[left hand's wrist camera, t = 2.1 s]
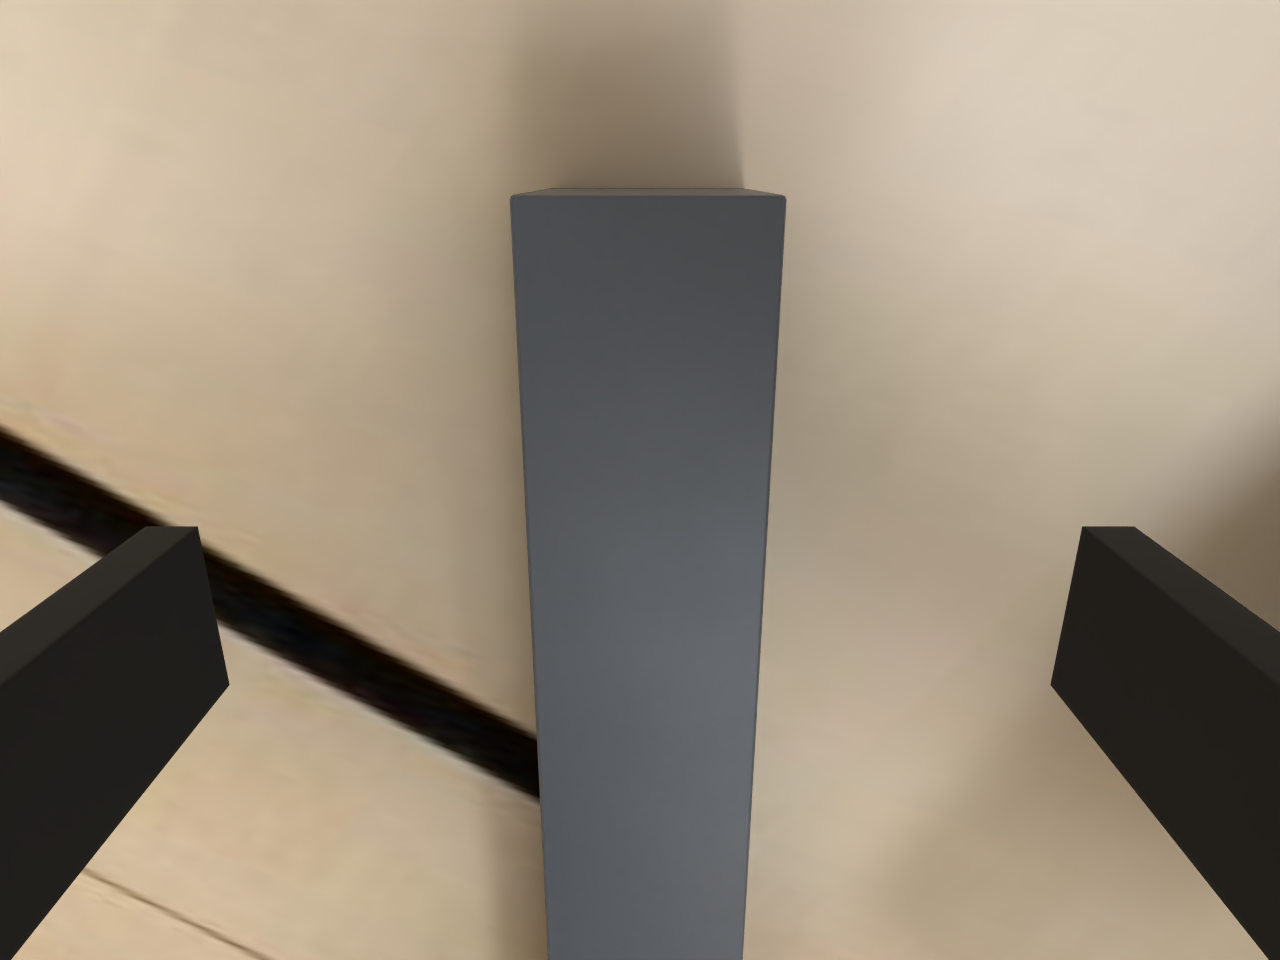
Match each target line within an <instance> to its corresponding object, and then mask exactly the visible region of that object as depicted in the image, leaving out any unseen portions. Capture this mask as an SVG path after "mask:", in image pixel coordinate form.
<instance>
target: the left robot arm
mask: <svg viewBox="0 0 1280 960" xmlns="http://www.w3.org/2000/svg"><path fill="white" fill-rule="evenodd" d="M228 686H229V680H228V675H227V670H226V665H225V660H224V655H223V650H222V646H221V641H220V636H219V631H218V626H217V621H216V616H215V611H214V606H213V601H212V596H211V591H210V586H209V581H208V576H207V571H206V566H205V561H204V556H203V551H202V546H201V541H200V536H199V531H198V527H145V528H143V529H142V530H141V531H139V532H138V533H136V534H135V535H134V536H132V537H131V538H130V539H128V540H127V541H125V542H124V543H123V544H121V545H120V546H119V547H117V548H116V549H114V550H113V551H112V552H110V553H109V554H107V555H106V556H105V557H103V558H102V559H101V560H99V561H98V562H96V563H95V564H94V565H92V566H91V567H90V568H88V569H87V570H85V571H84V572H83V573H81V574H80V575H79V576H77V577H76V578H74V579H73V580H72V581H70V582H69V583H68V584H66V585H65V586H63V587H62V588H61V589H59V590H58V591H56V592H55V593H54V594H52V595H51V596H50V597H48V598H47V599H45V600H44V601H43V602H41V603H40V604H39V605H37V606H36V607H34V608H33V609H32V610H30V611H29V612H28V613H26V614H25V615H23V616H22V617H21V618H19V619H18V620H17V621H15V622H14V623H12V624H11V625H10V626H8V627H7V628H5V629H4V630H3V631H1V632H0V960H11V959H12V958H13V957H14V955H15V954H16V953H17V952H18V950H19V949H20V948H21V947H22V945H23V944H24V943H25V941H26V940H27V939H28V938H29V936H30V935H31V934H32V933H33V931H34V930H35V929H36V928H37V926H38V925H39V924H40V923H41V921H42V920H43V919H44V918H45V916H46V915H47V914H48V913H49V911H50V910H51V909H52V908H53V906H54V905H55V904H56V902H57V901H58V900H59V899H60V897H61V896H62V895H63V894H64V892H65V891H66V890H67V889H68V887H69V886H70V885H71V884H72V882H73V881H74V880H75V879H76V877H77V876H78V875H79V874H80V872H81V871H82V870H83V869H84V867H85V866H86V865H87V863H88V862H89V861H90V860H91V858H92V857H93V856H94V855H95V853H96V852H97V851H98V850H99V848H100V847H101V846H102V845H103V843H104V842H105V841H106V840H107V838H108V837H109V836H110V835H111V833H112V832H113V831H114V829H115V828H116V827H117V826H118V824H119V823H120V822H121V821H122V819H123V818H124V817H125V816H126V814H127V813H128V812H129V811H130V809H131V808H132V807H133V806H134V804H135V803H136V802H137V801H138V799H139V798H140V797H141V796H142V794H143V793H144V792H145V790H146V789H147V788H148V787H149V785H150V784H151V783H152V782H153V780H154V779H155V778H156V777H157V775H158V774H159V773H160V772H161V770H162V769H163V768H164V767H165V765H166V764H167V763H168V762H169V760H170V759H171V758H172V756H173V755H174V754H175V753H176V751H177V750H178V749H179V748H180V746H181V745H182V744H183V743H184V741H185V740H186V739H187V738H188V736H189V735H190V734H191V733H192V731H193V730H194V729H195V728H196V726H197V725H198V724H199V723H200V721H201V720H202V719H203V717H204V716H205V715H206V714H207V712H208V711H209V710H210V709H211V707H212V706H213V705H214V704H215V702H216V701H217V700H218V699H219V697H220V696H221V695H222V694H223V692H224V691H225V690H226V689H227V687H228ZM1051 686H1052V687H1053V689H1054V690H1055V691H1056V692H1057V694H1058V695H1059V696H1060V697H1061V699H1062V700H1063V701H1064V702H1065V704H1066V705H1067V706H1068V707H1069V709H1070V710H1071V711H1072V712H1073V714H1074V715H1075V716H1076V717H1077V719H1078V720H1079V721H1080V723H1081V724H1082V725H1083V726H1084V728H1085V729H1086V730H1087V731H1088V733H1089V734H1090V735H1091V736H1092V738H1093V739H1094V740H1095V741H1096V743H1097V744H1098V745H1099V746H1100V748H1101V749H1102V750H1103V751H1104V753H1105V754H1106V755H1107V756H1108V758H1109V759H1110V760H1111V762H1112V763H1113V764H1114V765H1115V767H1116V768H1117V769H1118V770H1119V772H1120V773H1121V774H1122V775H1123V777H1124V778H1125V779H1126V780H1127V782H1128V783H1129V784H1130V785H1131V787H1132V788H1133V789H1134V790H1135V792H1136V793H1137V794H1138V796H1139V797H1140V798H1141V799H1142V801H1143V802H1144V803H1145V804H1146V806H1147V807H1148V808H1149V809H1150V811H1151V812H1152V813H1153V814H1154V816H1155V817H1156V818H1157V819H1158V821H1159V822H1160V823H1161V824H1162V826H1163V827H1164V828H1165V829H1166V831H1167V832H1168V833H1169V835H1170V836H1171V837H1172V838H1173V840H1174V841H1175V842H1176V843H1177V845H1178V846H1179V847H1180V848H1181V850H1182V851H1183V852H1184V853H1185V855H1186V856H1187V857H1188V858H1189V860H1190V861H1191V862H1192V863H1193V865H1194V866H1195V867H1196V869H1197V870H1198V871H1199V872H1200V874H1201V875H1202V876H1203V877H1204V879H1205V880H1206V881H1207V882H1208V884H1209V885H1210V886H1211V887H1212V889H1213V890H1214V891H1215V892H1216V894H1217V895H1218V896H1219V897H1220V899H1221V900H1222V901H1223V902H1224V904H1225V905H1226V906H1227V908H1228V909H1229V910H1230V911H1231V913H1232V914H1233V915H1234V916H1235V918H1236V919H1237V920H1238V921H1239V923H1240V924H1241V925H1242V926H1243V928H1244V929H1245V930H1246V931H1247V933H1248V934H1249V935H1250V936H1251V938H1252V939H1253V940H1254V941H1255V943H1256V944H1257V945H1258V947H1259V948H1260V949H1261V950H1262V952H1263V953H1264V954H1265V955H1266V957H1267V958H1268V959H1269V960H1280V632H1279V631H1277V630H1276V629H1275V628H1273V627H1272V626H1270V625H1269V624H1268V623H1266V622H1265V621H1263V620H1262V619H1261V618H1259V617H1258V616H1257V615H1255V614H1254V613H1252V612H1251V611H1250V610H1248V609H1247V608H1246V607H1244V606H1243V605H1241V604H1240V603H1239V602H1237V601H1236V600H1235V599H1233V598H1232V597H1230V596H1229V595H1228V594H1226V593H1225V592H1224V591H1222V590H1221V589H1219V588H1218V587H1217V586H1215V585H1214V584H1212V583H1211V582H1210V581H1208V580H1207V579H1206V578H1204V577H1203V576H1201V575H1200V574H1199V573H1197V572H1196V571H1195V570H1193V569H1192V568H1190V567H1189V566H1188V565H1186V564H1185V563H1184V562H1182V561H1181V560H1179V559H1178V558H1177V557H1175V556H1174V555H1173V554H1171V553H1170V552H1168V551H1167V550H1166V549H1164V548H1163V547H1161V546H1160V545H1159V544H1157V543H1156V542H1155V541H1153V540H1152V539H1150V538H1149V537H1148V536H1146V535H1145V534H1144V533H1142V532H1141V531H1139V530H1138V529H1137V528H1135V527H1082V531H1081V536H1080V541H1079V546H1078V551H1077V556H1076V561H1075V566H1074V571H1073V576H1072V581H1071V586H1070V591H1069V596H1068V601H1067V606H1066V611H1065V616H1064V621H1063V626H1062V631H1061V636H1060V641H1059V646H1058V650H1057V655H1056V660H1055V665H1054V670H1053V675H1052V680H1051Z"/></svg>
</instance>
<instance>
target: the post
mask: <svg viewBox="0 0 1280 960" xmlns="http://www.w3.org/2000/svg"><path fill="white" fill-rule="evenodd" d="M510 211H511V231H512V251H513V270H514V290H515V310H516V330H517V350H518V370H519V390H520V409H521V429H522V449H523V469H524V489H525V509H526V528H527V548H528V568H529V588H530V608H531V628H532V648H533V667H534V687H535V707H536V727H537V747H538V767H539V787H540V806H541V826H542V846H543V866H544V886H545V906H546V926H547V945H548V960H743V943H744V925H745V908H746V891H747V873H748V856H749V839H750V821H751V804H752V787H753V769H754V752H755V735H756V717H757V700H758V683H759V665H760V648H761V631H762V613H763V596H764V579H765V561H766V544H767V527H768V509H769V492H770V475H771V457H772V440H773V423H774V405H775V388H776V371H777V353H778V336H779V319H780V301H781V284H782V267H783V249H784V232H785V215H786V197H785V196H783V195H778V194H773V193H767V192H761V191H755V190H749V189H743V188H551V189H545V190H540V191H534V192H528V193H522V194H517V195H513V196H511V198H510Z"/></svg>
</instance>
